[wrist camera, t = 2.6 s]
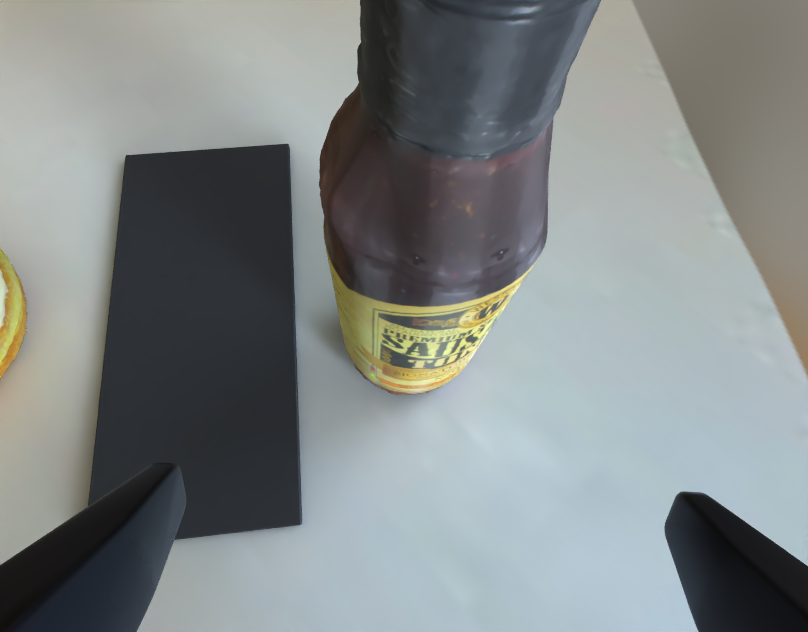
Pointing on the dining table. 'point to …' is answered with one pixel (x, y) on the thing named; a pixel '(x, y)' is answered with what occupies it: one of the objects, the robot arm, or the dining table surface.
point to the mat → (205, 338)
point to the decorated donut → (10, 313)
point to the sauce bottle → (442, 176)
